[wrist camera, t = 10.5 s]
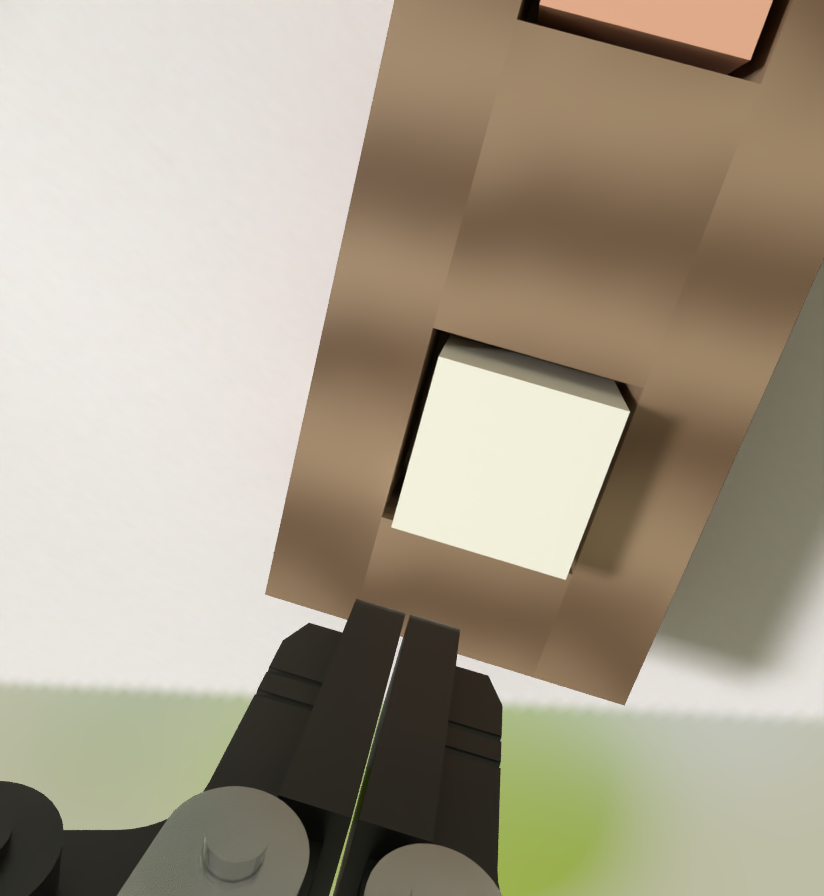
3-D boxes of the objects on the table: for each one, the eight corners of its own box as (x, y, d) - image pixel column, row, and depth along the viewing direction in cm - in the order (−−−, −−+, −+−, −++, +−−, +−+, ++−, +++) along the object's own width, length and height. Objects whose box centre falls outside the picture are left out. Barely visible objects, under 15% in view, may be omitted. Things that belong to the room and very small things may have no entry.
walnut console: (520, -381, 22) (519, -575, 17) (975, -272, 22) (1133, -437, 16) (308, 528, 33) (265, 594, 28) (606, 618, 33) (624, 705, 27)
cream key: (450, 334, 26) (438, 356, 22) (614, 380, 26) (630, 411, 22) (408, 483, 28) (391, 527, 24) (559, 529, 28) (565, 579, 24)
